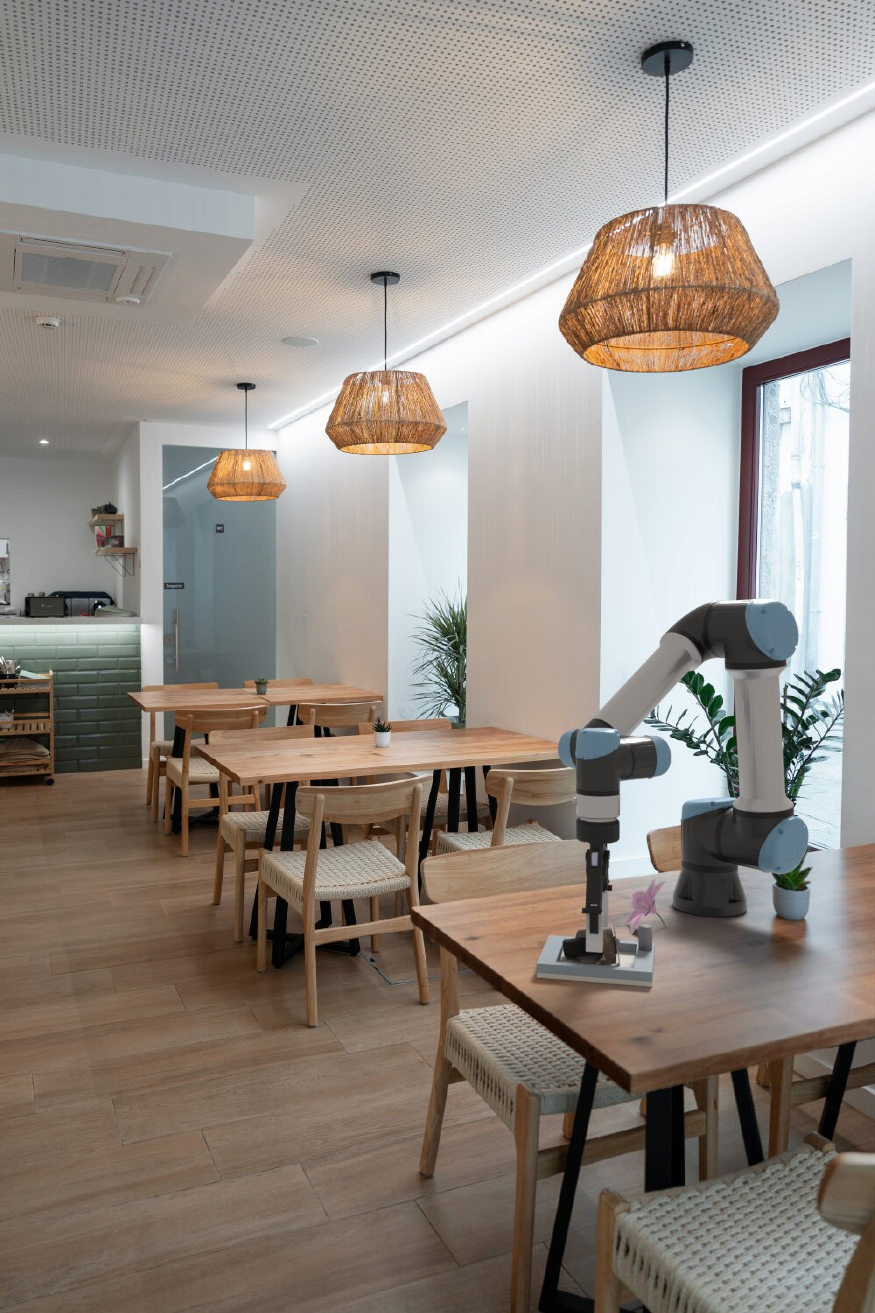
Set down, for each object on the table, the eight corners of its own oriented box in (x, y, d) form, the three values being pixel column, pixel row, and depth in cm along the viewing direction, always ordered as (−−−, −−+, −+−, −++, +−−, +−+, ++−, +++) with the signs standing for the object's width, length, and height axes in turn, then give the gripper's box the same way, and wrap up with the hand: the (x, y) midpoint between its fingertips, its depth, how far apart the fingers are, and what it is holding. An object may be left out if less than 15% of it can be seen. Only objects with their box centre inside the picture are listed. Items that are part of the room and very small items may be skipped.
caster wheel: (567, 965, 178) (622, 959, 176) (563, 972, 167) (623, 966, 165) (561, 927, 179) (617, 921, 177) (558, 932, 168) (617, 925, 167)
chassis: (654, 956, 177) (654, 920, 177) (652, 987, 162) (652, 948, 162) (548, 948, 182) (549, 913, 182) (536, 977, 166) (536, 939, 166)
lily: (635, 921, 203) (614, 882, 201) (689, 904, 198) (668, 865, 197) (629, 956, 192) (607, 915, 191) (685, 940, 187) (663, 898, 186)
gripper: (582, 804, 184) (582, 917, 185) (568, 830, 160) (568, 960, 161) (623, 806, 183) (623, 920, 183) (615, 832, 158) (614, 964, 159)
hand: (597, 939), depth 172 cm, fingers open, 13 cm apart
